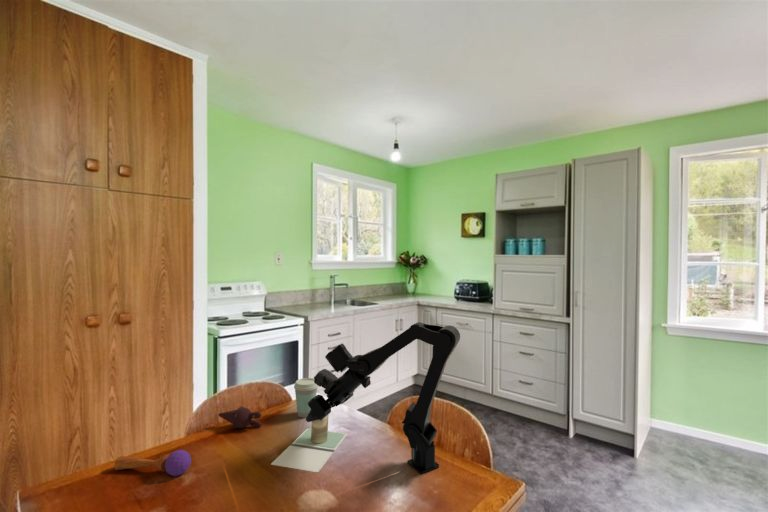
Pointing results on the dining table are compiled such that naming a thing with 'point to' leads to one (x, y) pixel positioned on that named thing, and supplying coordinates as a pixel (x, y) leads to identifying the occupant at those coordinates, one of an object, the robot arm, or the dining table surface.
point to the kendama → (158, 462)
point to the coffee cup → (304, 395)
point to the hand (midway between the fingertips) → (315, 414)
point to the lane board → (309, 452)
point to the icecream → (242, 417)
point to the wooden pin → (319, 431)
